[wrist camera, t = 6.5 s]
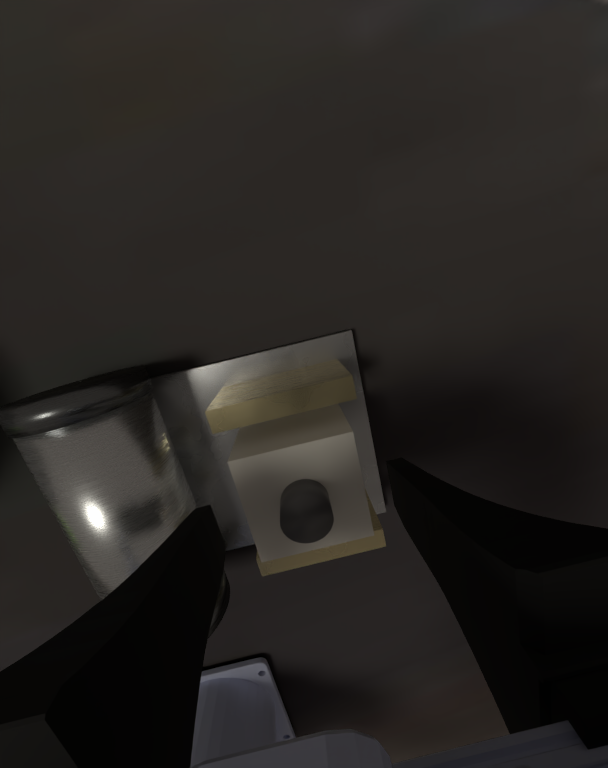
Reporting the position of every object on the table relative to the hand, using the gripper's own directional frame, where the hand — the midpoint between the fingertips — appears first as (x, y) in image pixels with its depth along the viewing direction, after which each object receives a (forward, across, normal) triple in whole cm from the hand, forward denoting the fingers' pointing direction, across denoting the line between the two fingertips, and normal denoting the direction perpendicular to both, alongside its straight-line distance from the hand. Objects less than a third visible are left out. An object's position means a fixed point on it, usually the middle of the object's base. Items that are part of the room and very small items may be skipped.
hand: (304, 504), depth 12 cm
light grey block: (+5, 0, 0) cm, 5 cm away
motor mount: (+5, +3, 0) cm, 6 cm away
